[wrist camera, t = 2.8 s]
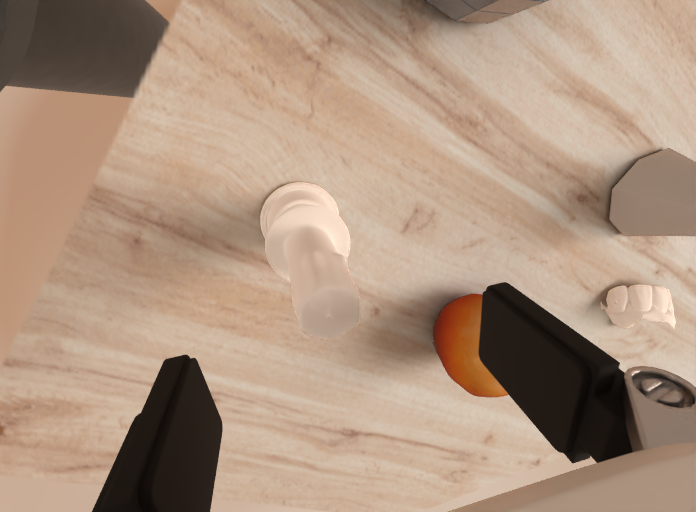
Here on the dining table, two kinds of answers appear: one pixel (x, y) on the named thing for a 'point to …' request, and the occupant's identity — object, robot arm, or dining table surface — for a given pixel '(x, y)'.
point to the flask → (656, 197)
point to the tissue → (639, 305)
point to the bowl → (482, 9)
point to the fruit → (464, 346)
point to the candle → (312, 258)
